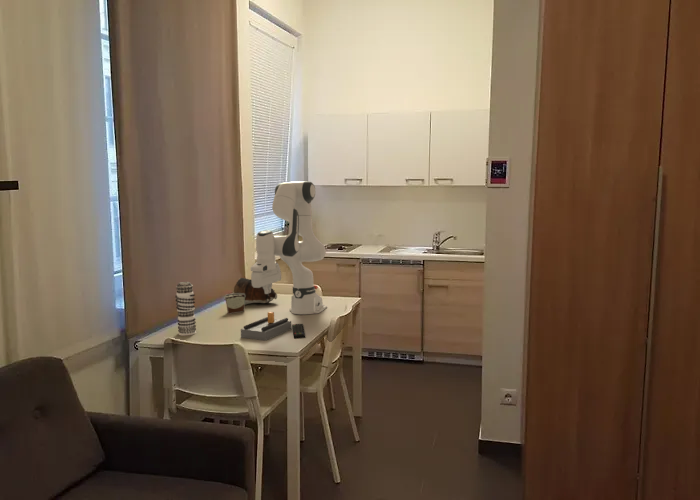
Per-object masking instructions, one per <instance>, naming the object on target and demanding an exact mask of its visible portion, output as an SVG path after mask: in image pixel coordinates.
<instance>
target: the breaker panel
mask: <svg viewBox="0 0 700 500" xmlns="http://www.w3.org/2000/svg"><path fill="white" fill-rule="evenodd" d="M280 320H281V319H275V318H274V323H275V322H278V321H280ZM270 324H273V323H268V320H267V321H265V322H262V323H260V324H257V325H255V326H252V327H250V328H247V329H244V327H243V328H241V329H240V338H241V339H249V338H250V340H258V341H259V340H260V341H268V340H270V339H272V338H275V337H277V336H278V335H281V334H283V333H286V332H288V331H291V330H292V320H288V321H286V322H284V323H281V324H279V325H277V326H274V327H272V328H270V329H267V330H265V331H262V330H261V329H262V328H263V327H265V326H268V325H270Z"/></svg>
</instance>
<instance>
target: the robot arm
mask: <svg viewBox="0 0 700 500" xmlns="http://www.w3.org/2000/svg"><path fill="white" fill-rule="evenodd" d="M315 196H316V187H315V184H314V183H313V182H312V181H307V180H305V181H300V180H299V181H298V180H297V181H296V180H295V181H289V182H280V183H278V184H277V185H276V187H275V188H274V198H273V201H272V207H271V208H272V209H271V210H272V211H273V214H274V215H275V216H276V217H277V218H279V219H280V220H283V221H286V222H288V223H289V225H288V226H289V227H288V234H286V235H274V234H273V231H272V230H267V229H266V230H260V231H258V233H256V238H255V250H256V253H257V254H256V255H257V256H256V262H255V263H254V264H253V265H251V266H250V271H251V275H250V277H251V279H250V280H251V281H252V286H253V287H254V288H260V287H263V289H264V292H265V294H268V293H271V288H272V286H273V283H277V282H279V281H281V280H282V269H281V266H280V264H279V263H278V262H277V261H276V256H279V258H280V259H281V260H282V261H283V262H284V263H285V264H286V265H287V267H289V269H290V271H291V274H292V275H291V276H292V283H293V284H292V285H293V286H292V296H291V302H290V303H291V304H290V305H291V306H290V308H289V312H291V313H292V314H294V315H312V314H320V313H322V312H323V311H324V310H325V309H327V308H328V305H325V304H323V297H322V296H320V295H319V294H318V293H317V291H316V290H317V289H318V288H319V287H318V285H315V284H314V273H313V271H312V270H311V269H310V268H308V267H306V266H305V265H303V263H304V262H317V261H322V260H323V259H324V258H325V256H326V254H327V248H326V245H324V243H323V242H321V241H320V240H319V239H318V238H317V236H316V235H315V233H314V228H313V220H312V219H313V215H312V205H311V202H312V201H313V200H314V198H315ZM299 236H300V237H302V240H301V241H299ZM272 289H273V288H272Z"/></svg>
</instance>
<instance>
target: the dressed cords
mask: <svg viewBox="0 0 700 500" xmlns="http://www.w3.org/2000/svg"><path fill="white" fill-rule="evenodd" d="M267 320H268V316H267V317H264V318H262V319H259V320H256V321H254V322H250V323H249V324H246V325H244V326H243V328H244V329H247V328H250V327H252V326H255V325H257V324H260V323H262V322H265V321H267ZM279 320H280V321H278V322H275V323H273V324H270V325H268V326H265V327H263V328H262V329H261V330H262V331H265V330H267V329H270V328H272V327H274V326H277V325H279V324H281V323H284V322H286V321H289V318H288V317H284V318H283V319H279Z"/></svg>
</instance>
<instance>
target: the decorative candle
mask: <svg viewBox="0 0 700 500" xmlns="http://www.w3.org/2000/svg"><path fill="white" fill-rule="evenodd" d="M193 286H194V285H193V284H192V283H191V282H190V281H181V282H178V284H177V285H176V286H175V289H176V293H175V294H176V295H175V297H174V298H175V302H176V304H175V305H176V308H175V309H176V311H177V315H178V316H177V325H178V326H177V329H178V333H177V334H178V335H179V336H192V335H195V334H196V333H197V331H196V330H197V328H196V327H197V322H196V320H197V319H196V315H195V309H196V308H195V305H194V304H195V303H196V302H195V300H196V298H194V296H196V294H194V290H193Z"/></svg>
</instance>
